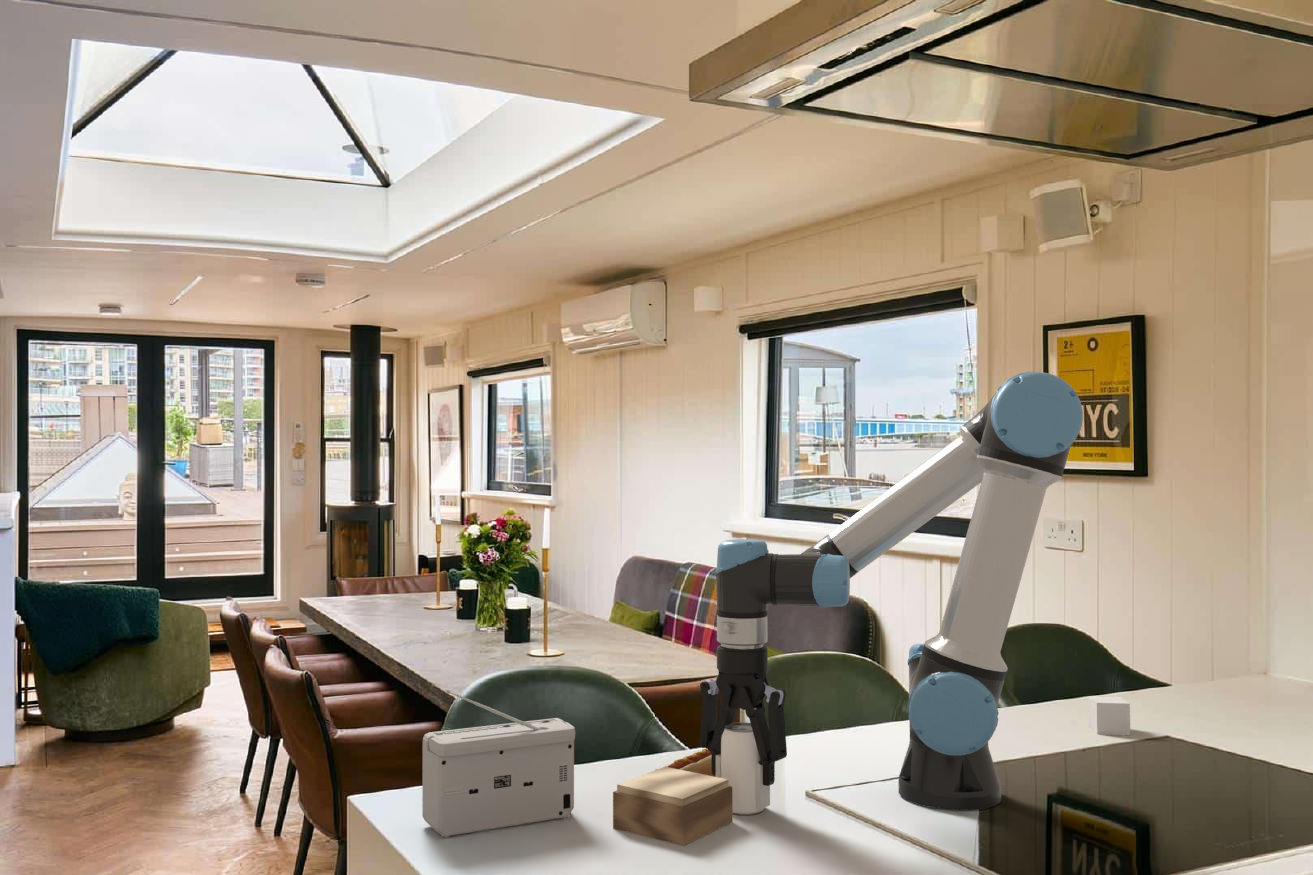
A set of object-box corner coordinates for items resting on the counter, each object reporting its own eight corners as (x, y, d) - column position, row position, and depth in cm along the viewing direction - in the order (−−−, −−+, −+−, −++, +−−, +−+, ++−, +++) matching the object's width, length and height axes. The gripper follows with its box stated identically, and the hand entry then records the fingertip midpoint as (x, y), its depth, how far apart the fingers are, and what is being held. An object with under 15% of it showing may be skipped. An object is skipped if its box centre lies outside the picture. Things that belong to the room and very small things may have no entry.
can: (762, 817, 152) (762, 732, 153) (718, 814, 153) (718, 730, 154) (767, 803, 158) (767, 722, 159) (724, 800, 160) (724, 720, 160)
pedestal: (732, 822, 150) (732, 779, 150) (683, 845, 140) (683, 800, 141) (664, 806, 157) (664, 765, 157) (613, 828, 148) (613, 784, 148)
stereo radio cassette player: (558, 803, 159) (558, 669, 160) (580, 819, 151) (580, 678, 152) (420, 825, 149) (421, 682, 150) (436, 843, 142) (437, 692, 143)
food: (684, 799, 161) (684, 766, 162) (654, 793, 164) (654, 760, 165) (730, 777, 173) (730, 746, 173) (701, 772, 176) (701, 742, 176)
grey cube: (1097, 734, 200) (1096, 702, 201) (1088, 727, 206) (1087, 696, 207) (1130, 735, 200) (1129, 703, 200) (1120, 728, 206) (1120, 696, 206)
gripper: (674, 641, 160) (674, 796, 159) (786, 654, 148) (787, 821, 147) (702, 635, 166) (703, 784, 165) (812, 647, 154) (813, 808, 153)
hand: (742, 801), depth 156 cm, fingers closed on can, 6 cm apart
